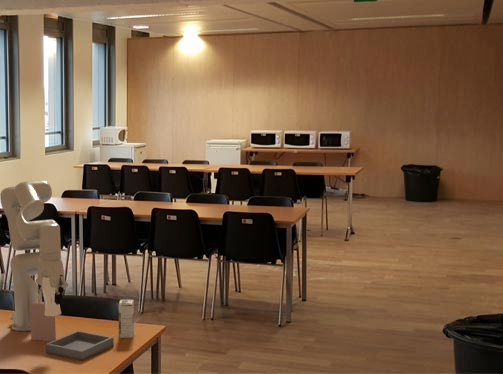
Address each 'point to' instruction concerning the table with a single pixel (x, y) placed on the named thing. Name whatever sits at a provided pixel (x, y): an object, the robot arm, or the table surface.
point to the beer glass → (50, 298)
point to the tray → (79, 345)
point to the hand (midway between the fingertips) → (52, 302)
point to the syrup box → (126, 318)
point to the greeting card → (41, 323)
